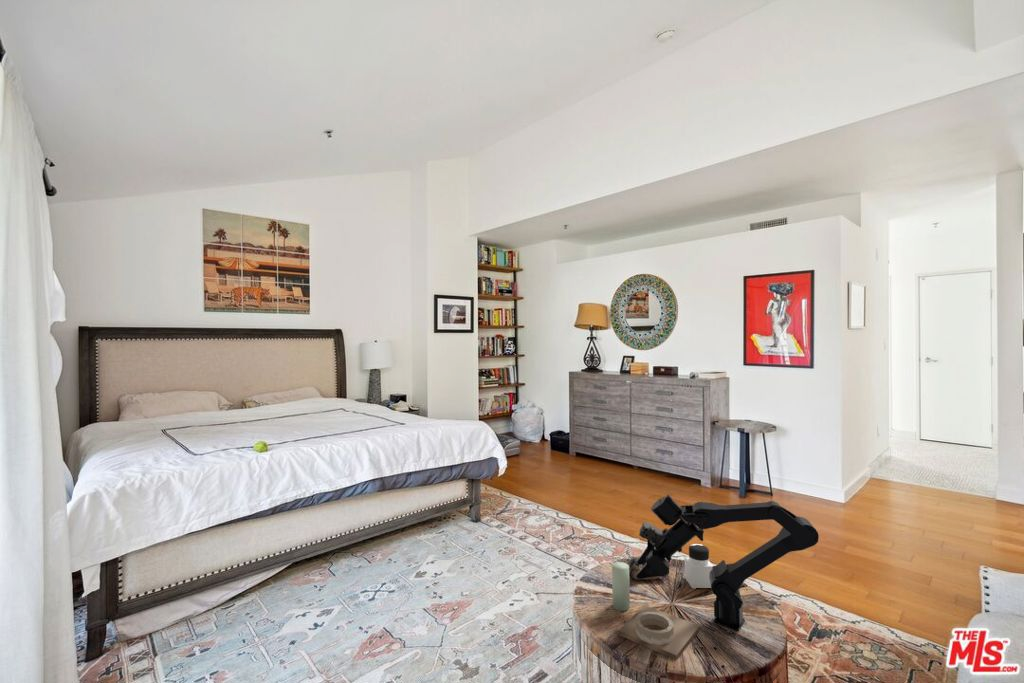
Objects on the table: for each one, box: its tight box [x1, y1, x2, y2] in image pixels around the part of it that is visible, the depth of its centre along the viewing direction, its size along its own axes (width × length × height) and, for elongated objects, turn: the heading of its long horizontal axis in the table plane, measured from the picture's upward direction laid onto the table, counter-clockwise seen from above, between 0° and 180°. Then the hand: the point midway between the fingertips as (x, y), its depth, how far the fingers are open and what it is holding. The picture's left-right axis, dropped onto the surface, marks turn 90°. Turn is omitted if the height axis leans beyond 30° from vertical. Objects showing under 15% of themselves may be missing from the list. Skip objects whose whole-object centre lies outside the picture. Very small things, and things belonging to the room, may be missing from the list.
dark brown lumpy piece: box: [626, 556, 661, 581], centre depth 158 cm, size 12×7×10 cm
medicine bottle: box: [684, 543, 714, 590], centre depth 154 cm, size 7×7×12 cm
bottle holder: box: [617, 604, 701, 661], centre depth 129 cm, size 16×16×4 cm
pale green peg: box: [611, 561, 631, 612], centre depth 142 cm, size 5×5×12 cm
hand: (637, 570), depth 140 cm, fingers open, 9 cm apart
